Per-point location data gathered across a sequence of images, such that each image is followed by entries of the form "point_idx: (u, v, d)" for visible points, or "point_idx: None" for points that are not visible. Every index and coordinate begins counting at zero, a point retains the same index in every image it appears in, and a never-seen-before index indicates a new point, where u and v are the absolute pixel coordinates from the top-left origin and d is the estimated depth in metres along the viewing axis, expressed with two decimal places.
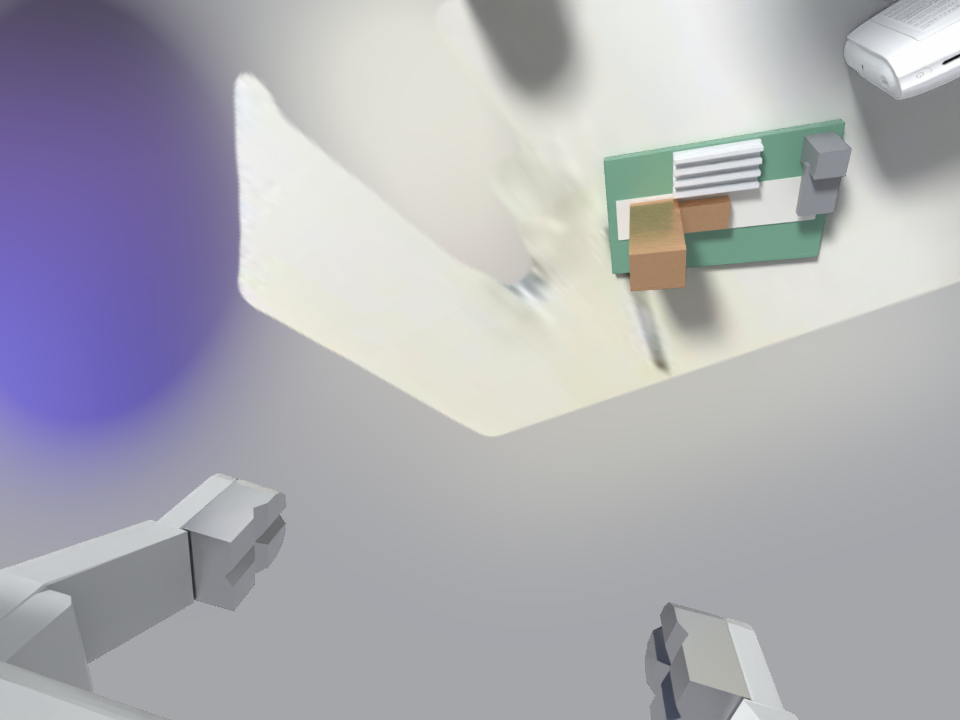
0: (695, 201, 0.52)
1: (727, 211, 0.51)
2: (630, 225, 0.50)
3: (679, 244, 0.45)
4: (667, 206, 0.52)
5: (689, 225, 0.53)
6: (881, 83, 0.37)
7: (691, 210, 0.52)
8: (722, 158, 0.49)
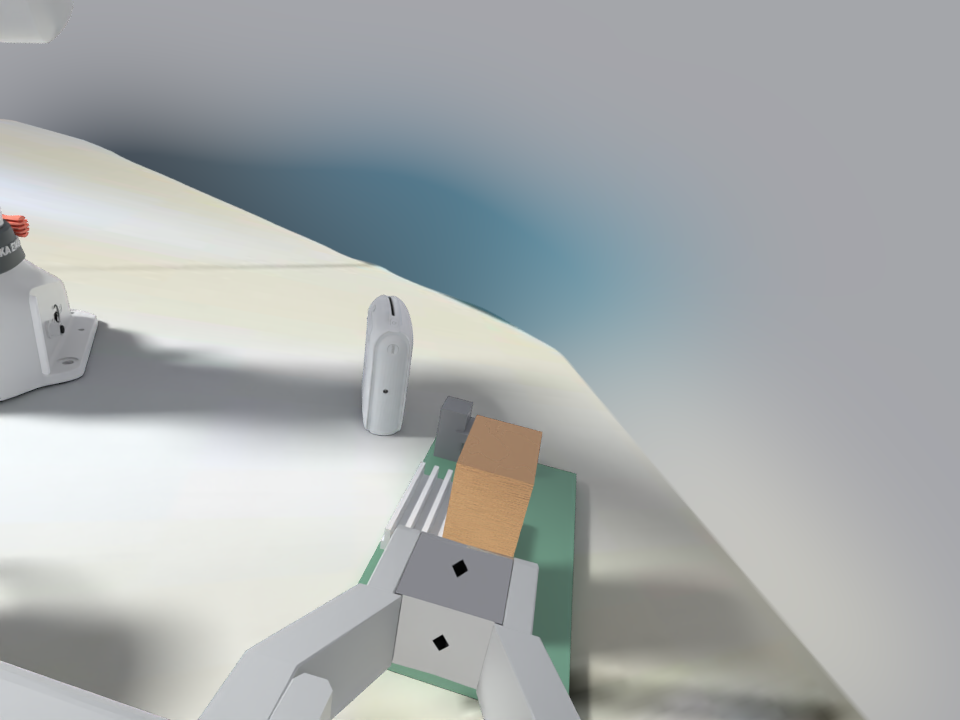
0: None
1: None
2: None
3: None
4: None
5: None
6: (394, 354, 0.44)
7: None
8: (417, 501, 0.38)
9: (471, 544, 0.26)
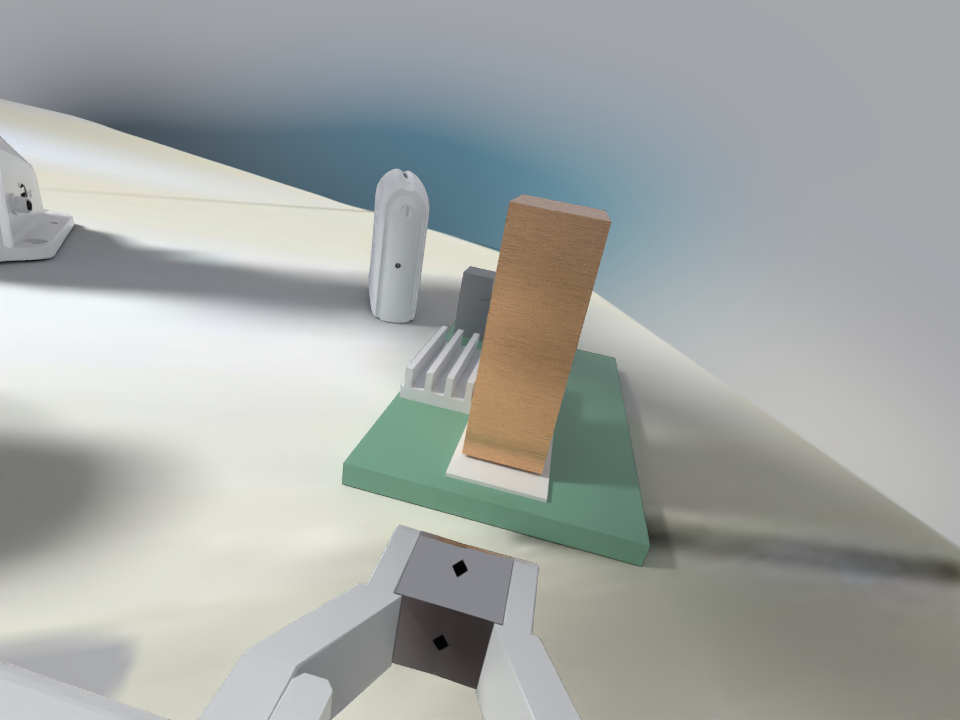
0: None
1: None
2: None
3: None
4: None
5: None
6: (408, 218, 0.39)
7: None
8: None
9: (524, 328, 0.21)
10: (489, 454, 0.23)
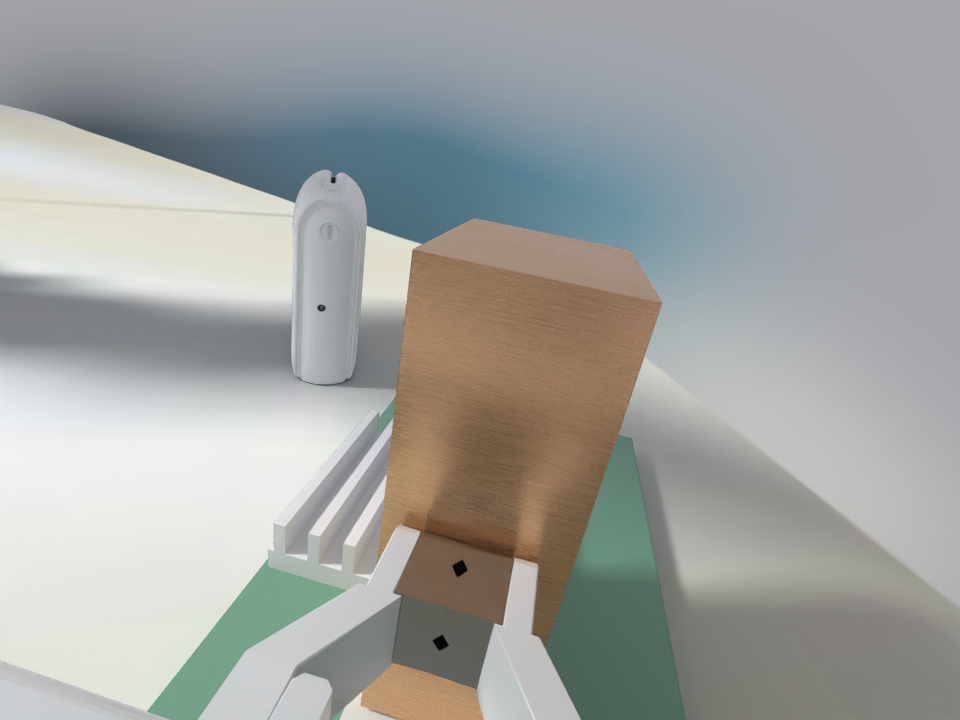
0: None
1: None
2: (380, 542, 0.10)
3: None
4: None
5: None
6: (332, 241, 0.27)
7: None
8: None
9: (463, 514, 0.10)
10: (410, 713, 0.12)
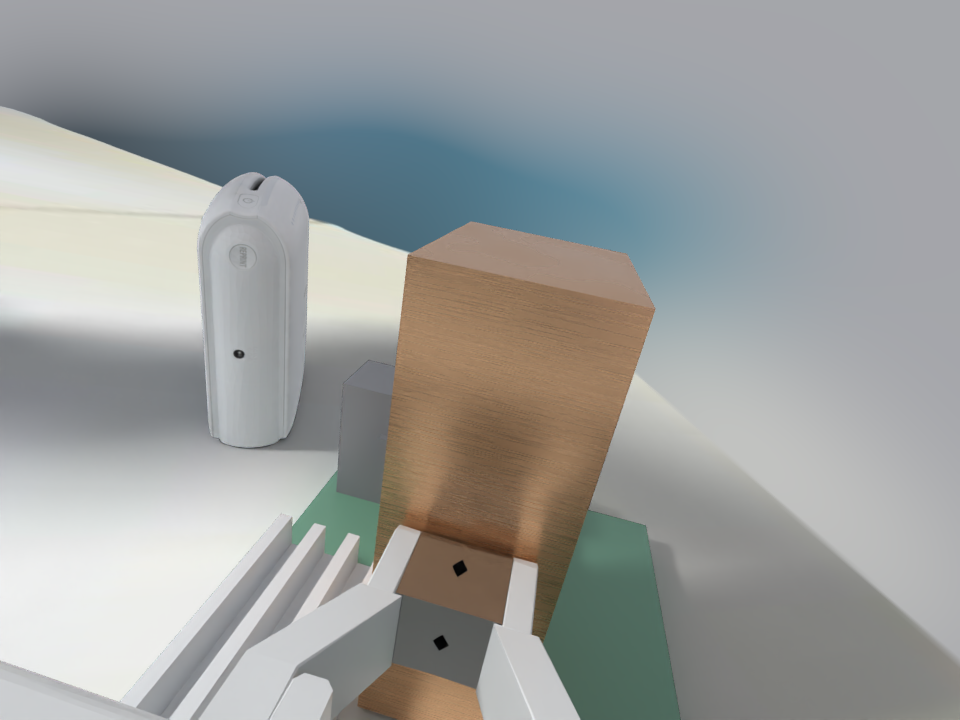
0: None
1: None
2: (376, 544, 0.10)
3: None
4: None
5: None
6: (246, 268, 0.20)
7: None
8: None
9: (458, 517, 0.10)
10: (407, 714, 0.12)
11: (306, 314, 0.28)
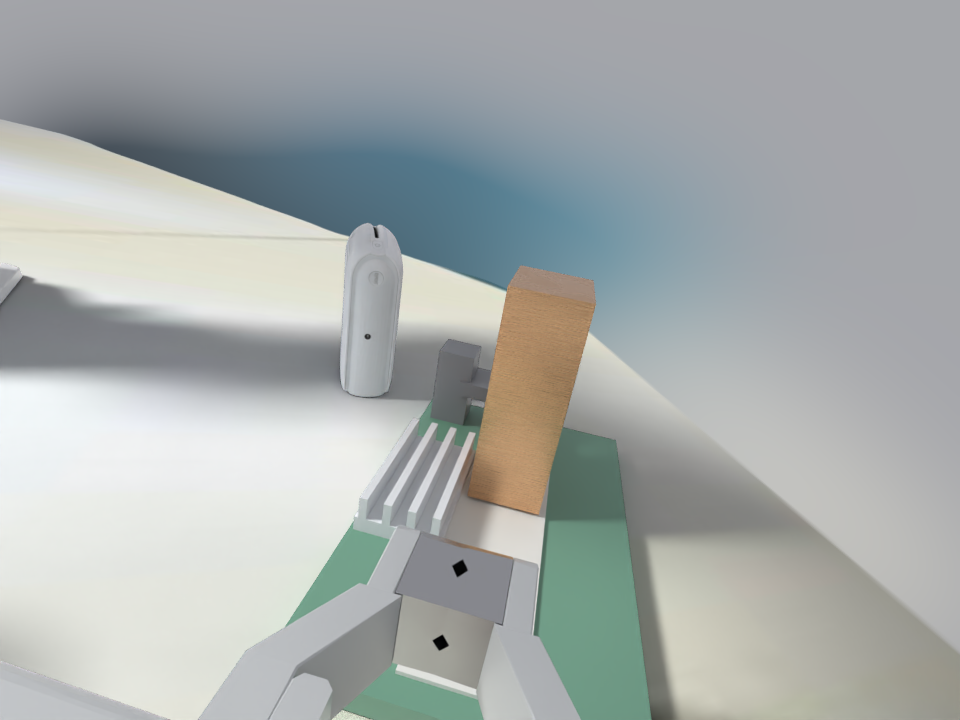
0: None
1: None
2: None
3: None
4: None
5: None
6: (377, 285, 0.34)
7: None
8: None
9: (522, 390, 0.24)
10: (492, 497, 0.26)
11: None
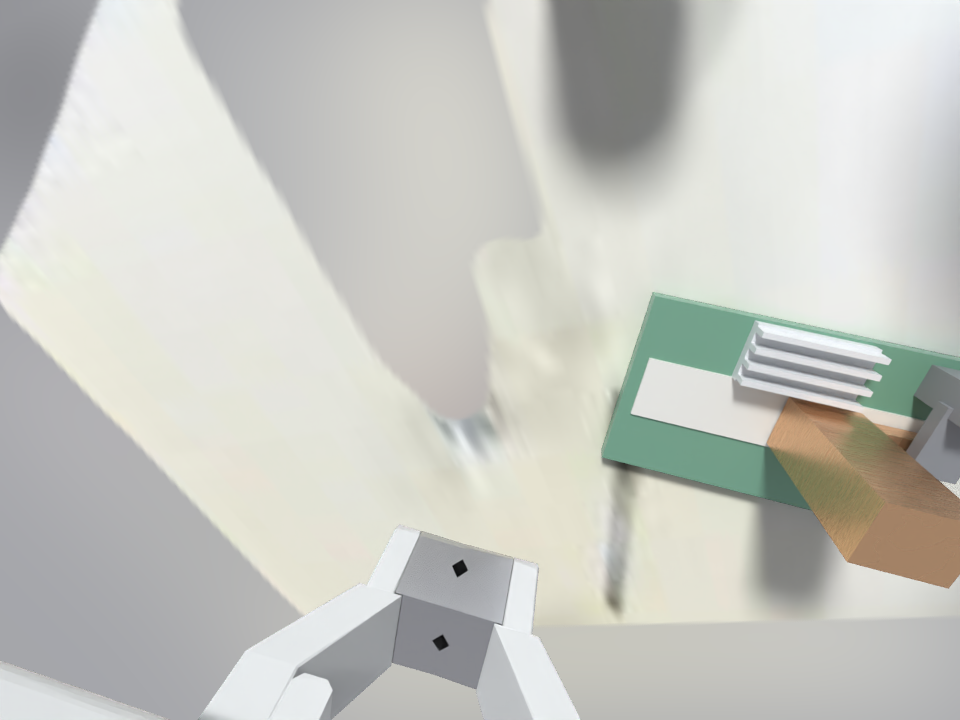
0: (887, 428, 0.34)
1: None
2: (826, 436, 0.30)
3: None
4: (859, 422, 0.33)
5: None
6: None
7: None
8: (822, 354, 0.33)
9: (823, 471, 0.29)
10: (783, 414, 0.35)
11: None
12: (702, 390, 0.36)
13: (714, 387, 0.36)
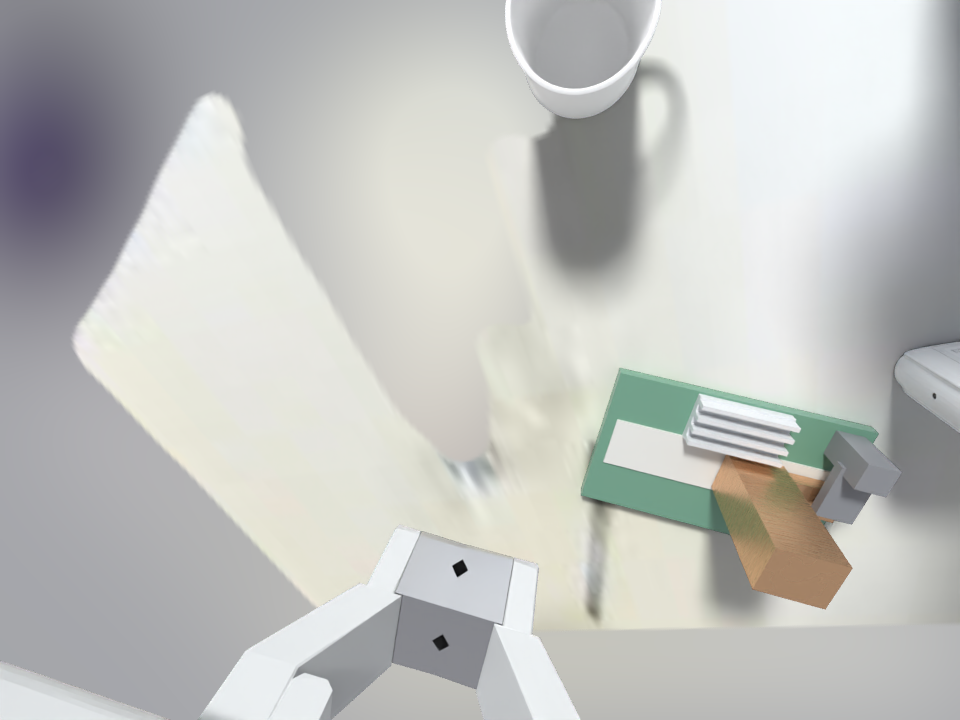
0: (803, 478, 0.43)
1: None
2: (747, 490, 0.39)
3: (836, 553, 0.33)
4: (778, 475, 0.42)
5: None
6: None
7: (801, 489, 0.42)
8: (750, 421, 0.42)
9: (743, 517, 0.38)
10: (722, 466, 0.44)
11: None
12: (659, 445, 0.45)
13: (669, 443, 0.45)
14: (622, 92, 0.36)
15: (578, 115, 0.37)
